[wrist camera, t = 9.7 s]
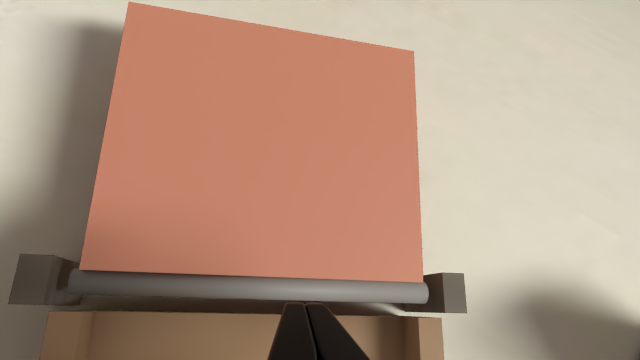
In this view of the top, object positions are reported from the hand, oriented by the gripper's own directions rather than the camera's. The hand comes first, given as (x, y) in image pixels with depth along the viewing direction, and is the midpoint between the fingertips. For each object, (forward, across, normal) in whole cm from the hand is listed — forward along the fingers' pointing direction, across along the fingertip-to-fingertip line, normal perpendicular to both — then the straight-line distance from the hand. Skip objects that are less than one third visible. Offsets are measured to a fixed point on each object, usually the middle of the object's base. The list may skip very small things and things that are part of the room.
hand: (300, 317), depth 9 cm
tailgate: (+6, 0, +5) cm, 8 cm away
